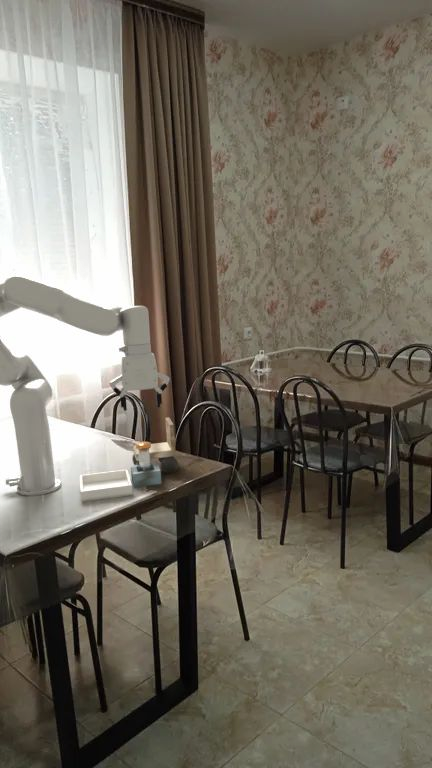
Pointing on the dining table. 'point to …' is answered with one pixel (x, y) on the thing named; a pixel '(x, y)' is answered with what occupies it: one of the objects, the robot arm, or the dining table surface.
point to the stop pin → (144, 455)
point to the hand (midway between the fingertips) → (141, 408)
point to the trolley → (158, 450)
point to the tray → (105, 485)
